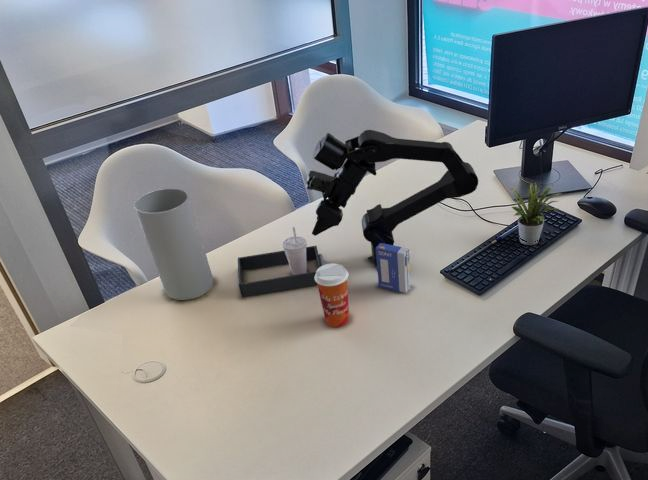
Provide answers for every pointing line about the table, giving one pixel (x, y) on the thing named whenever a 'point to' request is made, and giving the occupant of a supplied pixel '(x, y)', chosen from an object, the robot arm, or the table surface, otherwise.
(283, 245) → the smoothie
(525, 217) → the house plant
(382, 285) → the walkman
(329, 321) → the paper cup
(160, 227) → the cylinder vase
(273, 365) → the table surface
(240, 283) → the rectangular tray
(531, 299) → the table surface
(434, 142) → the robot arm
